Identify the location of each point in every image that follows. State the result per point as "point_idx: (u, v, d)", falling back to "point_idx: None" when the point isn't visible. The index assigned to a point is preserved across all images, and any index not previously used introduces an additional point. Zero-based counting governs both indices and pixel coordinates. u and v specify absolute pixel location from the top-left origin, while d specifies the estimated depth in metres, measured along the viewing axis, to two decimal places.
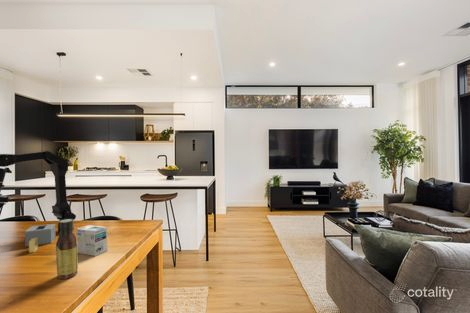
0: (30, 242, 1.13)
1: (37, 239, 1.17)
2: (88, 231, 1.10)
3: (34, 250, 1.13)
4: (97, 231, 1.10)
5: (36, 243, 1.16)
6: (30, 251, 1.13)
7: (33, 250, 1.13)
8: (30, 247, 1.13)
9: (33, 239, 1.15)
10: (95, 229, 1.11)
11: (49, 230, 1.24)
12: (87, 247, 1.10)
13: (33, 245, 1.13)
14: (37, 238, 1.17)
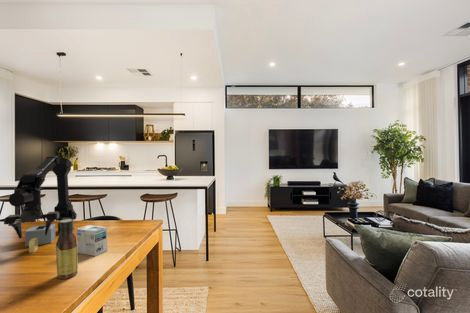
0: (30, 242, 1.13)
1: (37, 239, 1.17)
2: (88, 231, 1.10)
3: (34, 250, 1.13)
4: (97, 231, 1.10)
5: (36, 243, 1.16)
6: (30, 251, 1.13)
7: (33, 250, 1.13)
8: (30, 247, 1.13)
9: (33, 239, 1.15)
10: (95, 229, 1.11)
11: (49, 230, 1.24)
12: (87, 247, 1.10)
13: (33, 245, 1.13)
14: (37, 238, 1.17)
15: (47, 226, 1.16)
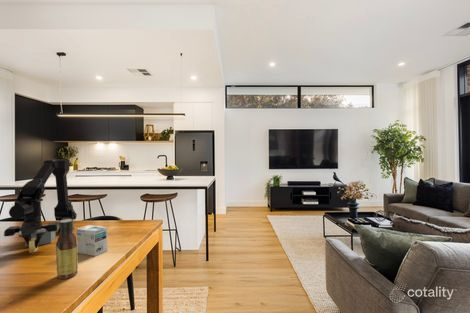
0: (30, 242, 1.13)
1: None
2: (88, 231, 1.10)
3: (34, 250, 1.13)
4: (97, 231, 1.10)
5: None
6: (30, 251, 1.13)
7: (33, 250, 1.13)
8: (30, 247, 1.13)
9: (33, 239, 1.15)
10: (95, 229, 1.11)
11: None
12: (87, 247, 1.10)
13: (33, 245, 1.13)
14: None
15: (38, 238, 1.15)
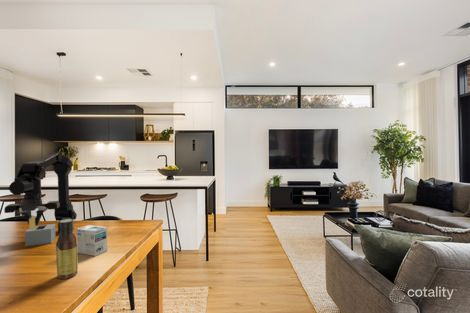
0: (30, 219, 1.13)
1: None
2: (88, 231, 1.10)
3: (34, 227, 1.14)
4: (97, 231, 1.10)
5: None
6: (30, 228, 1.13)
7: (33, 227, 1.14)
8: (30, 224, 1.13)
9: (33, 217, 1.16)
10: (95, 229, 1.11)
11: (49, 230, 1.24)
12: (87, 247, 1.10)
13: (33, 222, 1.14)
14: None
15: (38, 216, 1.15)
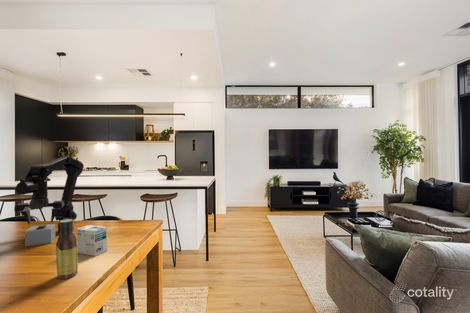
0: None
1: None
2: (88, 231, 1.10)
3: None
4: (97, 231, 1.10)
5: None
6: None
7: None
8: None
9: None
10: (95, 229, 1.11)
11: (49, 230, 1.24)
12: (87, 247, 1.10)
13: None
14: None
15: (53, 214, 1.27)
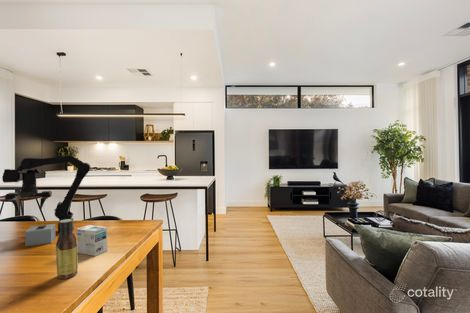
0: None
1: None
2: (88, 231, 1.10)
3: None
4: (97, 231, 1.10)
5: None
6: None
7: None
8: None
9: None
10: (95, 229, 1.11)
11: (49, 230, 1.24)
12: (87, 247, 1.10)
13: None
14: None
15: (41, 202, 1.38)
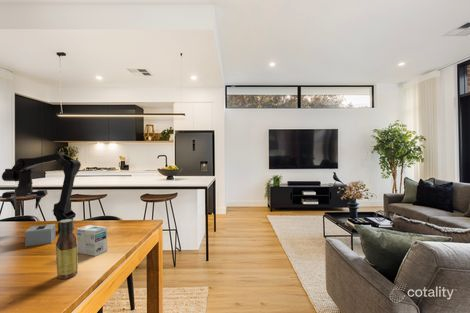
0: None
1: None
2: (88, 231, 1.10)
3: None
4: (97, 231, 1.10)
5: None
6: None
7: None
8: None
9: None
10: (95, 229, 1.11)
11: (49, 230, 1.24)
12: (87, 247, 1.10)
13: None
14: None
15: (37, 201, 1.44)
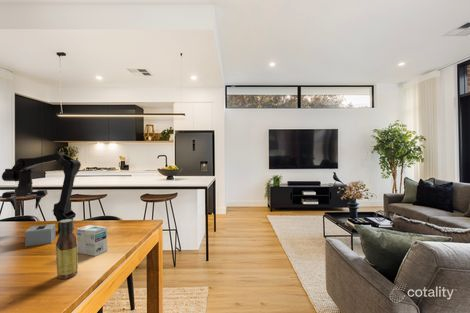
0: None
1: None
2: (88, 231, 1.10)
3: None
4: (97, 231, 1.10)
5: None
6: None
7: None
8: None
9: None
10: (95, 229, 1.11)
11: (49, 230, 1.24)
12: (87, 247, 1.10)
13: None
14: None
15: (37, 201, 1.44)
